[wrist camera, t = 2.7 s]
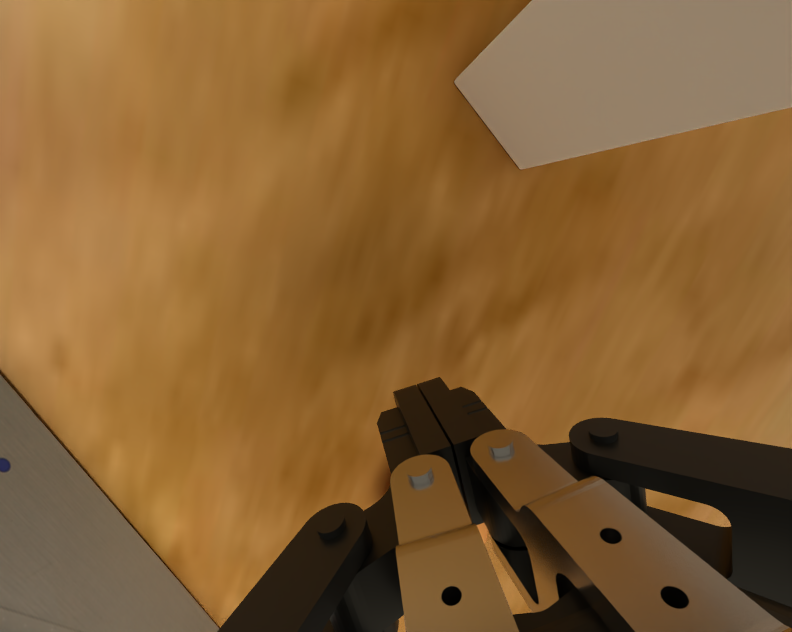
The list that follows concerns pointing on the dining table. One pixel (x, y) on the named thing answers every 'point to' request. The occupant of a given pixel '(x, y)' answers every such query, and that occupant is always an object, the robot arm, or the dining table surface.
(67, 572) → the soda pack
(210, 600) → the dining table surface
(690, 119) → the milk
